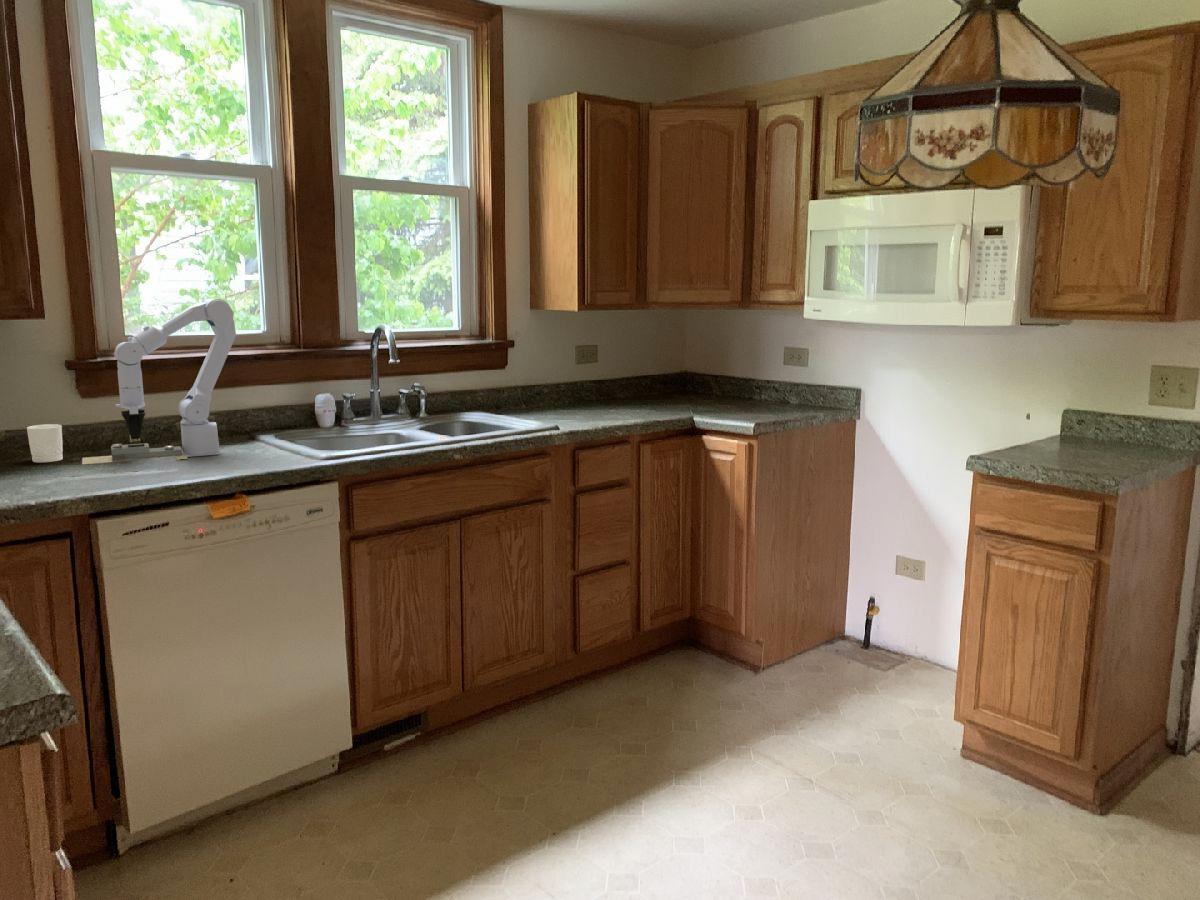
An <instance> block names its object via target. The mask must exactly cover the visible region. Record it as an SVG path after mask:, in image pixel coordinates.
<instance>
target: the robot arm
mask: <svg viewBox="0 0 1200 900" xmlns="http://www.w3.org/2000/svg"><path fill="white" fill-rule="evenodd" d="M234 315H235V313H234V311H233V309H232V308H231V306H230V304H229V303H228V302H227V301H226V300H224V299H223V298H212V297H209V298H205V299H203V300H202V301H201V302H200V301H199V302H197V303H195V304H192V305H191V306H189V307H187V308H185V309H184V310H183V311H181V312H180V313H178V314H177V315H175V316H174V317H172V318H170V319H169V320H168V321H166V322H164V323H163V324H162V325H160V326H159V325H155V324H152V325H150V326H148V325H146V326H143V327H142V329H143V330H141V332H139V333H137V334H135V335H134V336H129V337H127V341H123V342H120V343H118V344H117V345H116V347H115V348H114V352H113V356H114V358H115V360H117V361H116V362H117V365H116V367H117V379H118V380H117V381H118V382H117V383H118V391H119V392H118V393H119V402H120V403H116V404H115V408H121V409H125V410H121V411H120V413H121V416H122V417H123V420H124V421H125V423H126V425H127V429H128V433H129V438H130V437H131V439H139V438H140V439H141V435H142V426H143V421H144V418H145V416H146V412H145V409H144V407H146V403H145V398H144V397H145V395H144V385H143V372H142V368H141V367H142V366H141V362H142V359H143V357H145V356H147V355H149V354H151V353H152V352H154V351H155V350H157V349H159V348H160V347H162V346H164V345H165V344H167V341H168V337H169V336H170V335H172V334H174V333H176V332H178V331H179V330H181V329H183V328H185V327H186V326H189V325H190V324H192V323H194V322H205V321H206V323H208V324H209V326H210V327H211V330H212V332H213V334H214V336H213V339H212V342H211V344H210V347H209V349H208V351H207V354H206V355H205V358H204V360H203V363H202V365H201V367H200V369H199V371H198V374H197V377H196V379H195V381H194V383H193V386H192V387H190V389H189V390H188V392H187V394H186V396H185V397H184V398H183V399H181V400H180V402H179V403H178V405H177V411H178V414H179V416H181V417H182V418H181V420H180V421H179V423H180V434H181V448H182V450H183V452H184V453H186V454H187V458H188V457H189V458H191V457H202V456H216V455H220V442H219V435H218V432H219V431H218V424H217V422H215V421H211V422H210V421H209V419H208V418H209V416H210V404H211V401H212V393H213V390H214V388H215V385H216V383H217V380H218V379H219V376H220V374H221V372H222V369H223V367H224V365H225V362H226V360H227V358H228V355H229V354H230V350H231V349H232V346H233V344H234V341H235V340H236V336H237V332H236V326H235V320H234V319H235V318H234Z"/></svg>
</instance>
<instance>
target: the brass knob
mask: <svg viewBox="0 0 1200 900" xmlns="http://www.w3.org/2000/svg"><path fill="white" fill-rule="evenodd" d="M129 443H132V444H137V443H141V437H140V438H139V439H131V437H130V436H129Z"/></svg>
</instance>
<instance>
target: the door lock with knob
mask: <svg viewBox="0 0 1200 900" xmlns="http://www.w3.org/2000/svg"><path fill="white" fill-rule="evenodd" d="M149 445H150V444H149V442H148V443H147V442H145V443H132V444H130V443H129V444H122V443H114V444H112V445H110V449H111V455H101V456H89V457H87V456H86V457H82V459H81V465H92V464H104V463H115V462H117V463H118V462H128V461H129V462H130V461H140V460H153V459H169V458H170V459H171V458H175V460H176V461H181V460H180V459H188V457H187V454H186V453H184V452H183V449H182V445H181V446H179V445H178V446H174V445H165V446H164V447H151V448H150V446H149ZM188 460H189V459H188Z"/></svg>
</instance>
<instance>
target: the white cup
mask: <svg viewBox="0 0 1200 900" xmlns="http://www.w3.org/2000/svg"><path fill="white" fill-rule="evenodd" d="M26 431H27V433H26V434H27V438H28V444H29V449H30V455H31V458H32V462H33V463H51V462H58V461H62V460H64V459H63V451H64V449H63V426H62V424H57V423H52V424H51V423H50V424H49V423H47V424H35V425H31V426H27V427H26Z"/></svg>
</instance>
